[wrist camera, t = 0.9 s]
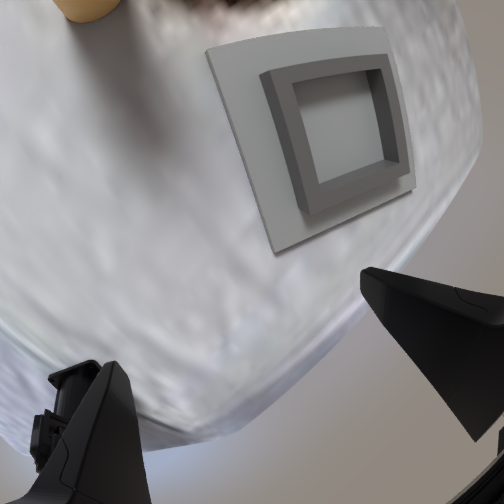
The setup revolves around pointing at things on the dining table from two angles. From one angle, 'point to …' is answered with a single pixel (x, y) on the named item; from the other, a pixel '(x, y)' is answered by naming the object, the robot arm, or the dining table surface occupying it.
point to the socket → (316, 125)
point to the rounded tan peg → (86, 9)
